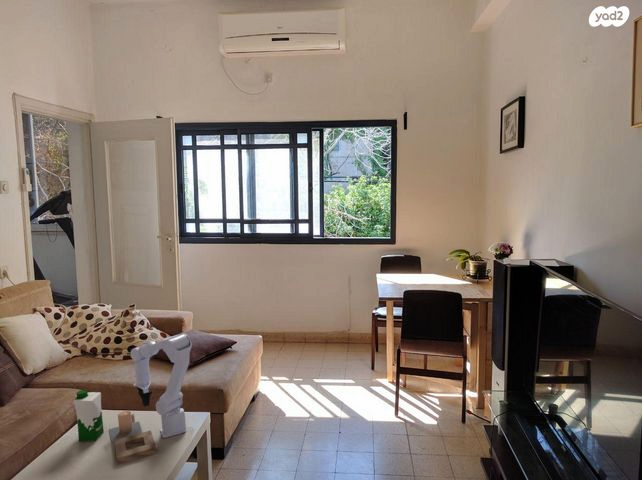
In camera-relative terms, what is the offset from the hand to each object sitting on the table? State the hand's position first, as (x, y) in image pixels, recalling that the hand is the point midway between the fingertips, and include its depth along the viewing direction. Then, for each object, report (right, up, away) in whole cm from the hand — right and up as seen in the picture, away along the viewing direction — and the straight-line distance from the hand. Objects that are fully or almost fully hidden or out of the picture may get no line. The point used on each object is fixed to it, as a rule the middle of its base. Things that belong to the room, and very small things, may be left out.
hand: (145, 402), depth 199 cm
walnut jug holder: (+4, -12, -20) cm, 23 cm away
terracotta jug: (-6, -10, -6) cm, 13 cm away
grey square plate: (-6, -11, -7) cm, 14 cm away
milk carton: (-19, -12, -9) cm, 24 cm away
